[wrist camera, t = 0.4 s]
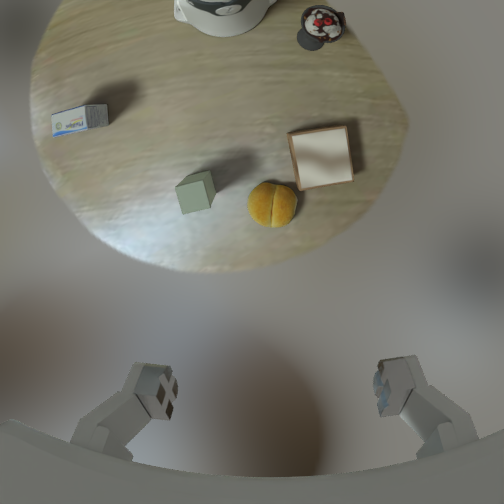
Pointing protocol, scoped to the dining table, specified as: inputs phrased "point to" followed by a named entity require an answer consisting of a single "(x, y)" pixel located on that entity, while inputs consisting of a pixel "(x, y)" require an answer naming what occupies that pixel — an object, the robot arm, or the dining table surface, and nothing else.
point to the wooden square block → (321, 157)
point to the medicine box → (79, 119)
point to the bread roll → (272, 205)
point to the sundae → (320, 27)
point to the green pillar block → (196, 192)
